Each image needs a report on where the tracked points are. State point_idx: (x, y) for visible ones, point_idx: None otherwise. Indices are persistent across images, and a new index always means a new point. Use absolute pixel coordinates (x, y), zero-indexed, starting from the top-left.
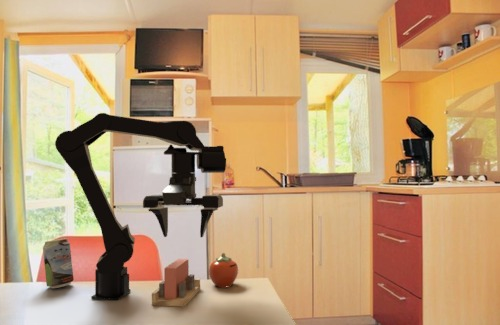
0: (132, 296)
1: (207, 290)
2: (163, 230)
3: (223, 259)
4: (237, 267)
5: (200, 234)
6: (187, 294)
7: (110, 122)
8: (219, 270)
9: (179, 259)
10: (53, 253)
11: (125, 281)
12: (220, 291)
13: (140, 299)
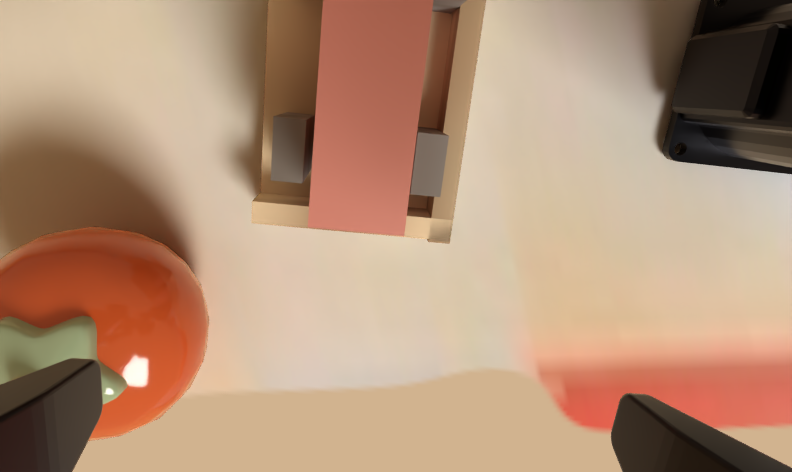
0: (633, 72)
1: (215, 188)
2: (709, 439)
3: (26, 334)
4: None
5: (73, 376)
6: (291, 13)
7: None
8: (83, 241)
9: (388, 213)
10: None
11: (734, 51)
12: (128, 169)
13: (575, 15)
